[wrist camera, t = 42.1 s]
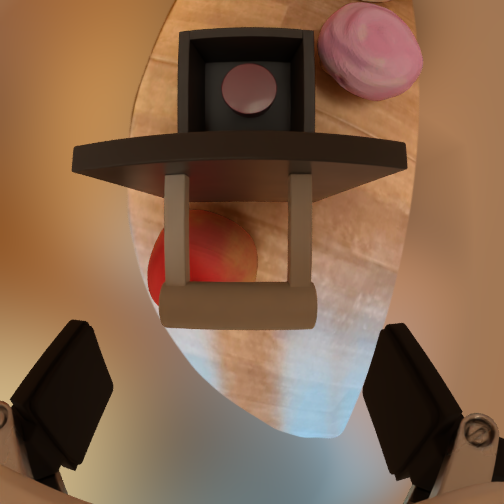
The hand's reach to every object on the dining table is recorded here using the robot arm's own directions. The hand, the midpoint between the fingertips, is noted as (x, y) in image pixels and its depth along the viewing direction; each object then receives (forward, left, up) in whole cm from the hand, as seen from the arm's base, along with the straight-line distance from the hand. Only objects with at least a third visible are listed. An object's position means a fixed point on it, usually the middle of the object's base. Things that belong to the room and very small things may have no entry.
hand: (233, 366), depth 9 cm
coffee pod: (-11, 0, -22) cm, 24 cm away
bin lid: (-5, 0, -7) cm, 9 cm away
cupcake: (-15, +10, -23) cm, 29 cm away
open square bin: (-9, 0, -22) cm, 24 cm away
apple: (+4, -4, -23) cm, 23 cm away
